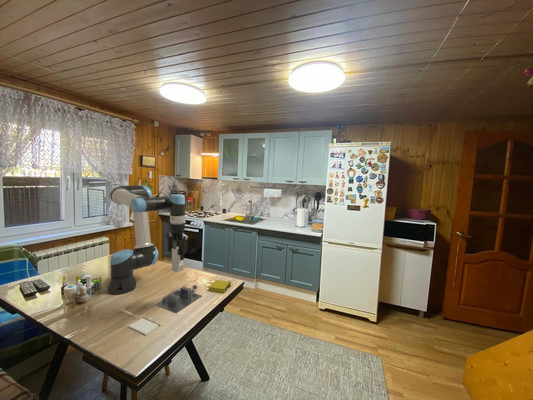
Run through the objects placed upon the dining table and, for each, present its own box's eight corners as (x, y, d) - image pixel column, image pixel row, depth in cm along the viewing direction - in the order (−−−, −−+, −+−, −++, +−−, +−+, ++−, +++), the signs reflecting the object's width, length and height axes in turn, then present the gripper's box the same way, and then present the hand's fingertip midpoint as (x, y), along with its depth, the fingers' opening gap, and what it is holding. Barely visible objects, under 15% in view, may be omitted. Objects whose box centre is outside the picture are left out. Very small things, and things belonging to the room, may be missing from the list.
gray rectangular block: (171, 270, 124) (171, 248, 123) (181, 266, 130) (181, 245, 129) (177, 272, 122) (177, 249, 121) (186, 267, 129) (186, 246, 127)
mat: (128, 326, 106) (128, 325, 106) (158, 309, 120) (158, 308, 120) (146, 335, 101) (146, 334, 101) (174, 316, 115) (174, 315, 115)
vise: (154, 306, 123) (154, 296, 122) (186, 288, 144) (186, 279, 143) (176, 315, 116) (176, 304, 115) (206, 295, 137) (206, 285, 136)
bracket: (212, 272, 153) (233, 274, 150) (211, 283, 154) (232, 286, 151) (200, 282, 138) (223, 285, 135) (200, 294, 139) (223, 297, 136)
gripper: (160, 222, 122) (160, 263, 125) (184, 226, 115) (184, 270, 118) (171, 220, 129) (171, 259, 131) (194, 223, 122) (194, 265, 124)
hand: (177, 264), depth 125 cm, fingers closed on gray rectangular block, 4 cm apart
